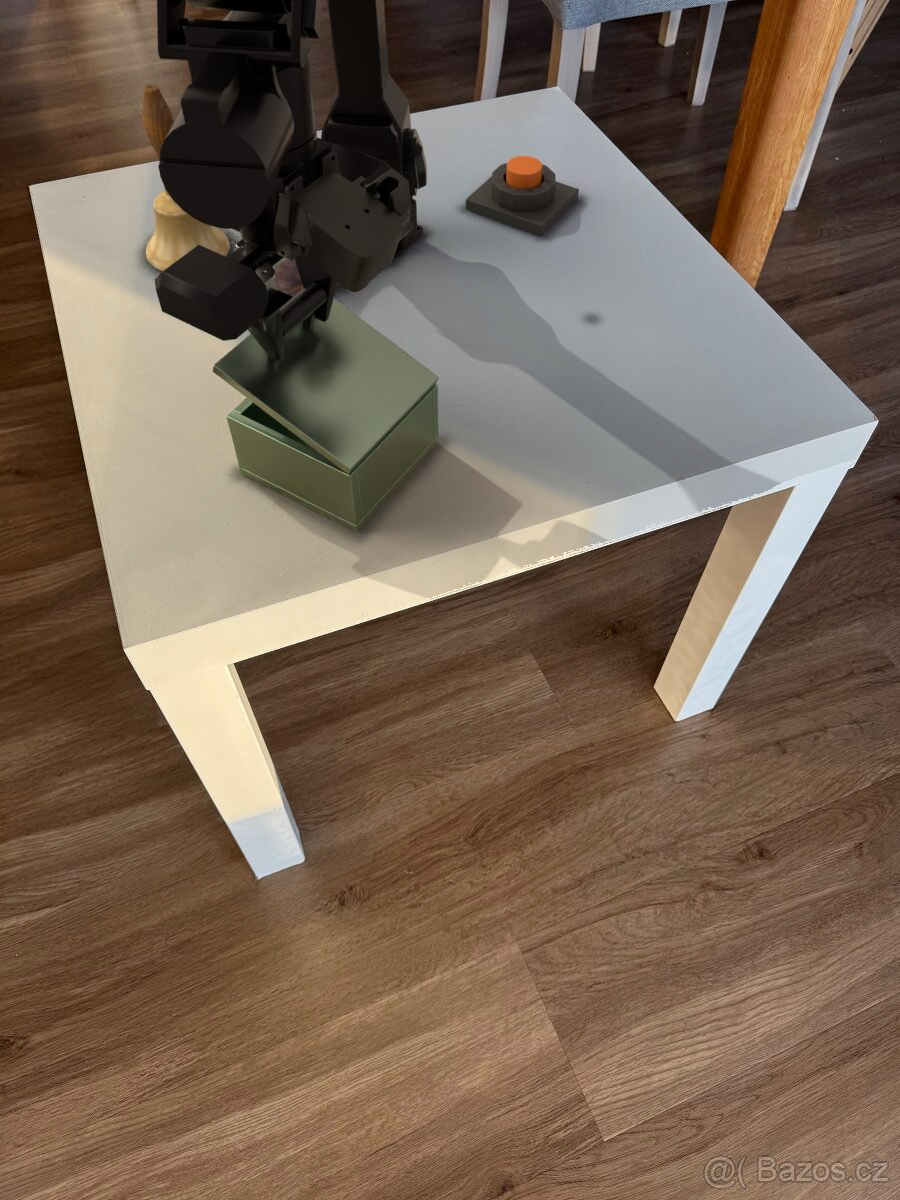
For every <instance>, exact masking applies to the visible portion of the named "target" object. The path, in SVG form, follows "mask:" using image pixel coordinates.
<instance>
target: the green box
mask: <svg viewBox="0 0 900 1200" xmlns="http://www.w3.org/2000/svg"><path fill="white" fill-rule="evenodd" d="M226 420H227V424H228V428H229V433H230V436H231V439H232V440H231V441H232V444H233V448H234V451H235V455H236V460H237V463H238V467H239V471H240V474H241V475H243V476H244V477H247V478H249V479H250V480H252V481H254V482H256V483H257V484H260V485H262V486H264V487H266V488H268V489H270V490H272V491H274V492H275V493H278V494H280V495H282V496H283V497H285V498H288V499H290V500H291V501H294V502H295V503H298V504H299V505H302V506H303V507H305V508H307V509H309V510H311V511H313V512H315V513H317V514H319V515H321V516H323V517H325V518H327V519H329V520H331V521H332V522H335V523H337V524H339V525H340V526H343V527H345V528H347V529H349V530H350V531H353V532H355V533H358V532H359V531H360V530H361V529H362V528H363V527H364V526H365V525H366V523H367V522H368V521H369V520H370V519H371V518H372V517H373V516H374V514H376V512H377V511H378V510H379V509H380V508H381V507H382V506H383V505H384V504H385V503H386V501H388V499H389V498H390V497H391V496H392V495H393V494H394V493H395V491H396V490H397V489H398V488H399V487H400V486H401V485H402V484H403V483H404V482H405V480H407V478H408V477H409V476H410V475H412V473H413V472H414V470H415V469H416V468H417V467H418V466H419V465H420V464H421V463H422V461H424V460H425V459H426V457H428V455H429V454H430V453H431V452H432V451H433V450H434V449H435V448H436V446H437V445H438V444H439V386H438V384H437V383H436V384H435V385H434V386H433V387H432V388H431V389H430V390H429V391H428V392H427V394H426V395H425V396H424V397H423V398H422V399H421V400H420V401H419V402H418V403H417V404H416V405H415V406H414V407H413V408H412V409H411V410H410V411H409V412H408V413H407V414H406V415H405V416H404V417H403V418H402V420H401V421H400V422H399V423H398V424H397V425H396V426H395V427H394V428H393V429H392V430H391V431H390V432H389V433H388V434H387V435H386V436H385V437H384V438H383V439H382V440H381V441H380V442H379V443H378V445H377V446H376V447H375V448H374V449H373V450H372V451H371V452H370V453H369V454H368V455H367V456H366V457H365V458H364V459H363V460H362V461H361V462H360V463H359V464H358V465H357V466H356V467H355V468H354V470H353V471H352V472H351V473H350V474H347V473H345V472H344V471H343V470H342V469H340V468H339V467H338V466H336V465H335V464H334V463H332V462H331V461H330V460H328V459H327V458H326V457H324V456H323V455H322V454H320V453H319V452H318V451H316V450H315V449H314V448H312V447H311V446H310V445H309V444H307V443H306V442H305V441H303V440H302V439H301V438H299V437H298V436H297V435H295V434H294V433H293V432H291V431H290V430H289V429H287V428H286V427H285V426H283V425H282V424H281V423H280V422H278V421H277V420H276V419H274V418H273V417H272V416H270V415H269V414H268V413H266V412H265V411H264V410H262V409H261V408H260V407H258V406H257V405H256V404H254V403H253V402H252V401H251V400H249V399H248V398H247V397H245V399H244V400H243V401H241V402H240V403H239V404H238V405H237V406H236V407H235V408H234V409H233V410H231V412H230V413H228V414H227V415H226Z"/></svg>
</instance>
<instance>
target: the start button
mask: <svg viewBox="0 0 900 1200" xmlns="http://www.w3.org/2000/svg"><path fill="white" fill-rule="evenodd" d="M506 163H507V172H506V182H507V184H508V185H509V186H512V187H515V188H518V189H531V188H535V187H538V186H539V185H540V184H541V177H542V164H543V163H542V161H541V160H539V159H538V158H536V157H534V156H530V155H519V156H515V157H512V158H511V159H509V160H508V161H507V162H506Z"/></svg>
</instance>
